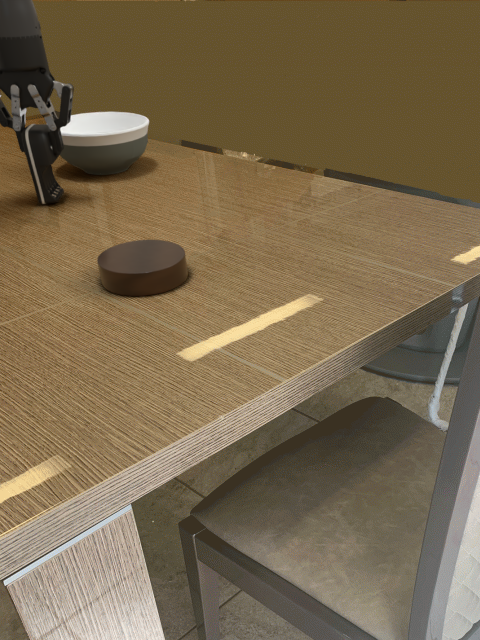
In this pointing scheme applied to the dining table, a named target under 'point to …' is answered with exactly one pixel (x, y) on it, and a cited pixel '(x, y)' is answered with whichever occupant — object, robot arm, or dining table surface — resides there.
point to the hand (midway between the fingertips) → (43, 153)
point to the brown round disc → (142, 267)
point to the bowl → (104, 141)
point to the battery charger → (41, 162)
